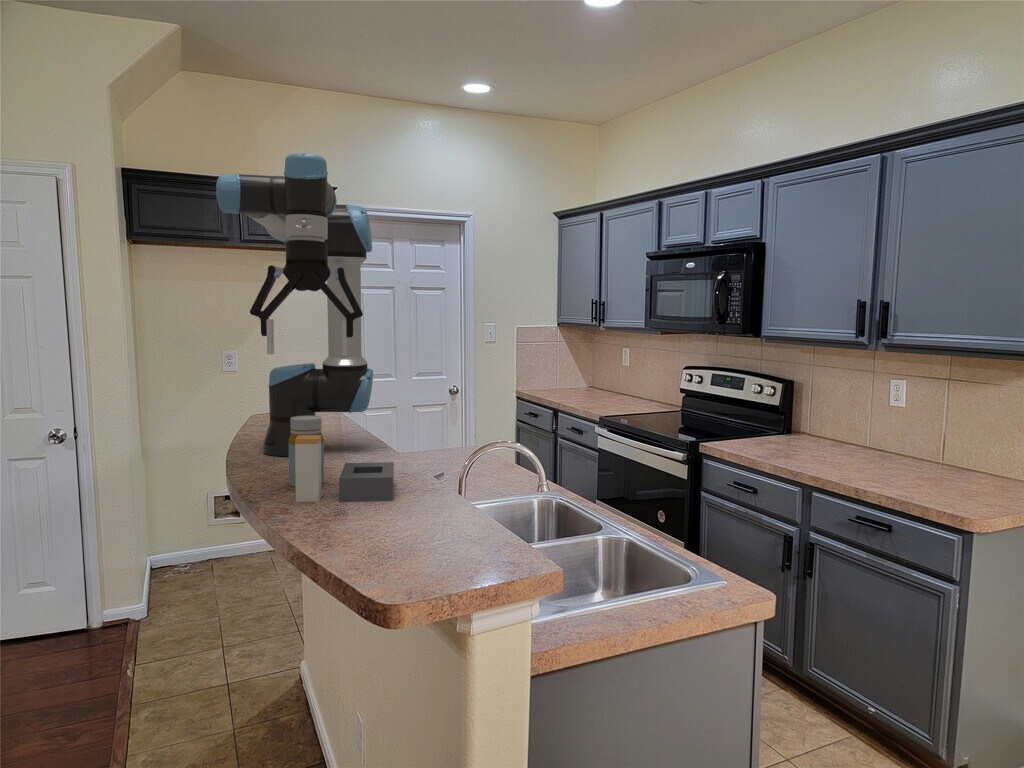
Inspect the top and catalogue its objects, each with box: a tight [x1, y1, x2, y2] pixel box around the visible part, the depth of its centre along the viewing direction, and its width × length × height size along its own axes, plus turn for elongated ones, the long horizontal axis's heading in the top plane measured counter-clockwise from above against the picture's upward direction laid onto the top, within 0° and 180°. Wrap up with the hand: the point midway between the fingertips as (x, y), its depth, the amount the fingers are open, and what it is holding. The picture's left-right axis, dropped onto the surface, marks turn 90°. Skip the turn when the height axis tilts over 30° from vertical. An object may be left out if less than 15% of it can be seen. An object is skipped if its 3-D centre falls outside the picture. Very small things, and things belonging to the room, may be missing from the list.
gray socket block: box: [338, 461, 395, 503], centre depth 135 cm, size 14×10×6 cm
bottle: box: [288, 415, 325, 489], centre depth 140 cm, size 7×7×15 cm
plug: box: [295, 435, 322, 503], centre depth 129 cm, size 4×4×13 cm
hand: (308, 354), depth 127 cm, fingers open, 13 cm apart
